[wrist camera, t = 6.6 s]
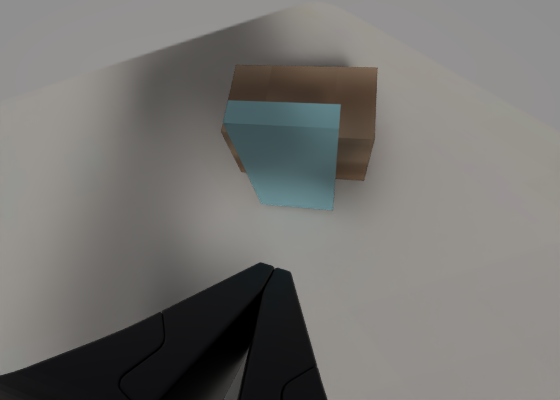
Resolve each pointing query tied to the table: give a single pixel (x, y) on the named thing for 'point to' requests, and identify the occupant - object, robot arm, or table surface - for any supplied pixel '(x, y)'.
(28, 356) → the table surface
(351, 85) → the socket block
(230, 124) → the pale blue board
